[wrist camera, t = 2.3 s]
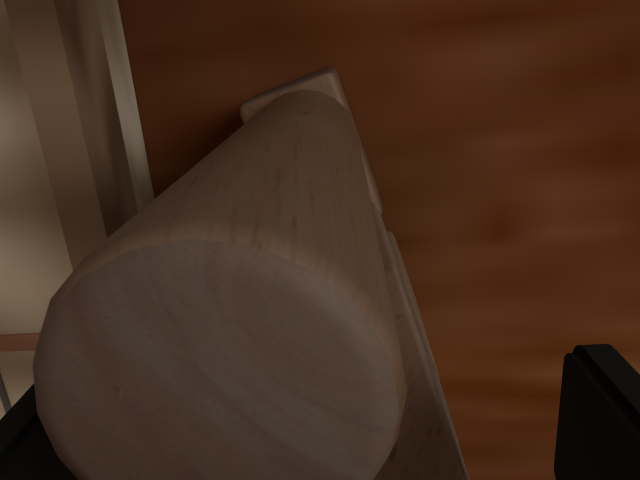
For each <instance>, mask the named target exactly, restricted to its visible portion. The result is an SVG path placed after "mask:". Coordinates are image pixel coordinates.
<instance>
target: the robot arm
mask: <svg viewBox="0 0 640 480" xmlns="http://www.w3.org/2000/svg"><path fill="white" fill-rule="evenodd" d="M554 472H555V478H556V480H640V375H639V374H638V372H637V371H636V370H635V369H634V368H633V367H632V366H631V365H630V364H629V363H628V362H627V361H626V360H625V359H624V358H623V357H622V356H621V355H620V354H619V353H618V352H617V351H616V350H615V349H614V348H613V347H612V346H611V345H609V344H594V345H577V346H576V347H575V348H574V350H573V353H568V354H566V355H565V357H564V364H563V375H562V386H561V396H560V407H559V418H558V429H557V439H556V450H555V461H554ZM0 480H78V479H77V478H76V477H75V476H74V474H73V473H72V472H71V471H70V470H69V469H68V468H67V467H66V466H65V465H64V463H63V462H62V461H61V460H60V459H59V458H58V456H57V454H56V452H55V450H54V448H53V446H52V444H51V442H50V440H49V437H48V435H47V433H46V431H45V429H44V427H43V425H42V423H41V420H40V418H39V416H38V414H37V408H36V397H35V387H34V384H33V385H32V386H31V387H30V388H29V389H28V390H27V391H26V392H25V393H24V395H23V396H22V397H21V398H20V399H19V400H18V401H17V402H16V403H15V404H14V405H13V406H12V407H11V409H10V410H9V411H8V412H7V413H6V414H5V415H4V416H3V417H2V418H1V419H0Z"/></svg>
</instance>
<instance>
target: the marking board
mask: <svg viewBox="0 0 640 480" xmlns="http://www.w3.org/2000/svg"><path fill="white" fill-rule="evenodd" d="M154 199H155V198H154V192H153V187H152V182H151V176H150V171H149V166H148V160H147V155H146V150H145V144H144V139H143V133H142V128H141V123H140V117H139V112H138V107H137V101H136V96H135V91H134V85H133V80H132V74H131V69H130V64H129V58H128V53H127V48H126V42H125V37H124V32H123V26H122V21H121V16H120V10H119V5H118V0H0V419H1V418H2V417H3V416H4V415H5V414H6V413H7V412H8V411H9V410H10V409H11V407H12V406H13V405H14V404H15V403H16V402H17V401H18V400H19V399H20V398H21V397H22V396H23V395H24V393H25V392H26V391H27V390H28V389H29V388H30V387H31V386H32V385H33V384H34V376H33V366H32V365H33V360H34V355H35V350H36V346H37V342H38V339H39V335H40V332H41V329H42V325H43V322H44V319H45V315H46V312H47V309H48V305H49V302H50V299H51V298H52V297H53V295H54V294H55V293H56V292H57V290H58V289H59V288H60V287H61V286H62V284H63V283H64V282H65V281H66V279H67V278H68V277H69V276H70V274H71V273H72V272H73V271H74V269H75V268H76V267H77V266H78V265H79V263H80V262H81V261H82V260H83V258H84V257H86V256H87V255H88V254H89V253H90V252H92V251H93V250H94V249H95V248H96V247H98V246H99V245H100V244H101V243H102V242H104V241H105V240H106V239H107V238H108V237H110V236H111V235H112V234H113V233H114V232H116V231H117V230H118V229H119V228H120V227H122V226H123V225H124V224H125V223H126V222H128V221H129V220H130V219H131V218H132V217H134V216H135V215H136V214H137V213H138V212H140V211H141V210H142V209H143V208H144V207H146V206H147V205H148V204H149V203H150V202H152V201H153V200H154Z"/></svg>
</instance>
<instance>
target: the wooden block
mask: <svg viewBox="0 0 640 480" xmlns="http://www.w3.org/2000/svg"><path fill="white" fill-rule="evenodd" d="M240 116H241V119H242V121H243V123H244V125H243V126H242V127H241V128H239V129H238V130H237V131H236V132H234V133H233V134H232V135H231V136H230V137H228V138H227V139H226V140H225V141H224V142H222V143H221V144H220V145H219V146H218V147H216V148H215V149H214V150H213V151H212V152H210V153H209V154H208V155H207V156H206V157H204V158H203V159H202V160H201V161H200V162H198V163H197V164H196V165H195V166H194V167H192V168H191V169H190V170H189V171H188V172H186V173H185V174H184V175H183V176H182V177H180V178H179V179H178V180H177V181H176V182H174V183H173V184H172V185H171V186H170V187H168V188H167V189H166V190H165V191H164V192H162V193H161V194H160V195H159V196H158V197H156V198H155V199H154V200H153V201H152V202H150V203H149V204H148V205H147V206H146V207H144V208H143V209H142V210H141V211H140V212H138V213H137V214H136V215H135V216H134V217H132V218H131V219H130V220H129V221H128V222H126V223H125V224H124V225H123V226H122V227H120V228H119V229H118V230H117V231H116V232H114V233H113V234H112V235H111V236H110V237H108V238H107V239H106V240H105V241H104V242H102V243H101V244H100V245H99V246H98V247H96V248H95V249H94V250H93V251H92V252H90V253H89V254H88V255H87V256H86V257H84V258H83V260H82V261H81V262H80V263H79V265H78V266H77V267H76V268H75V269H74V271H73V272H72V273H71V274H70V276H69V277H68V278H67V279H66V281H65V282H64V283H63V284H62V286H61V287H60V288H59V289H58V290H57V292H56V293H55V294H54V295H53V297H52V298H51V299H50V302H49V305H48V309H47V312H46V315H45V319H44V322H43V325H42V329H41V332H40V335H39V339H38V342H37V346H36V350H35V355H34V360H33V365H32V366H33V376H34V387H35V397H36V408H37V414H38V416H39V418H40V420H41V423H42V425H43V427H44V429H45V431H46V433H47V435H48V437H49V440H50V442H51V444H52V446H53V448H54V450H55V452H56V454H57V456H58V458H59V459H60V460H61V461H62V462H63V463H64V465H65V466H66V467H67V468H68V469H69V470H70V471H71V472H72V473H73V474H74V476H75V477H76V478H77V479H78V480H469V477H468V474H467V470H466V467H465V463H464V460H463V457H462V453H461V450H460V447H459V443H458V440H457V437H456V433H455V430H454V427H453V423H452V420H451V417H450V413H449V410H448V407H447V403H446V400H445V397H444V393H443V390H442V387H441V384H440V381H439V374H438V371H437V368H436V364H435V361H434V358H433V354H432V351H431V348H430V344H429V341H428V338H427V334H426V331H425V328H424V324H423V321H422V318H421V314H420V311H419V308H418V304H417V301H416V298H415V295H414V291H413V288H412V286H411V283H410V280H409V277H408V274H407V271H406V268H405V265H404V263H403V260H402V257H401V254H400V251H399V248H398V245H397V243H396V240H395V237H394V235H393V234H392V233H391V232H390V231H386V228H385V225H384V223H383V220H382V217H381V216H382V212H383V210H382V204H381V200H380V196H379V193H378V189H377V185H376V182H375V179H374V177H373V174H372V171H371V168H370V165H369V162H368V159H367V157H366V154H365V151H364V148H363V145H362V142H361V139H360V136H359V134H358V131H357V128H356V125H355V122H354V119H353V116H352V113H351V111H350V108H349V105H348V102H347V99H346V96H345V93H344V91H343V88H342V85H341V82H340V79H339V76H338V73H337V71H336V70H335V69H334V68H331V67H327V68H324V69H322V70H319V71H317V72H314V73H311V74H309V75H306V76H304V77H301V78H299V79H296V80H294V81H291V82H289V83H286V84H284V85H281V86H279V87H276V88H273V89H271V90H268V91H266V92H263V93H261V94H258V95H256V96H255V97H253V98H251V99H250V100H248V101H246V102H245V103H243V104H242V105H241V106H240Z"/></svg>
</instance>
